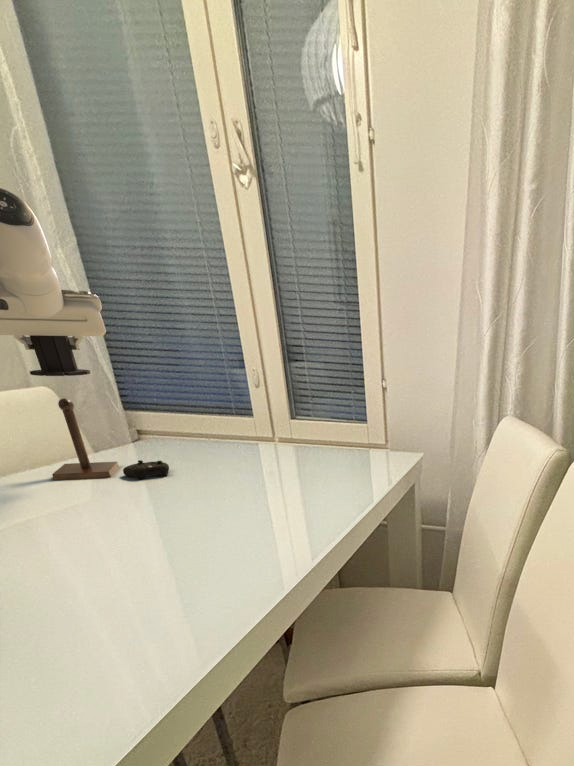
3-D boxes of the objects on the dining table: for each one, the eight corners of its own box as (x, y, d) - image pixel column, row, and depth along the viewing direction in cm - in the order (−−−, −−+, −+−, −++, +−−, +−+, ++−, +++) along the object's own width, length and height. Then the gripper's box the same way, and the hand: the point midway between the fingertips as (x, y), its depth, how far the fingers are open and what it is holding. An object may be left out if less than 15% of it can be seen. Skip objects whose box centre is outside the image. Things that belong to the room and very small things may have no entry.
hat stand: (54, 480, 122) (26, 401, 114) (66, 470, 131) (41, 395, 123) (110, 478, 126) (87, 401, 118) (119, 467, 135) (98, 395, 127)
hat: (25, 376, 108) (6, 323, 104) (40, 372, 117) (23, 323, 112) (83, 375, 112) (68, 325, 107) (94, 372, 120) (80, 324, 115)
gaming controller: (166, 466, 133) (167, 451, 128) (175, 485, 133) (176, 470, 128) (121, 471, 127) (121, 456, 123) (130, 491, 127) (130, 476, 122)
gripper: (94, 279, 106) (107, 335, 118) (-43, 271, 96) (-14, 333, 108) (103, 305, 105) (115, 359, 117) (-35, 300, 95) (-6, 360, 107)
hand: (52, 347), depth 112 cm, fingers closed on hat, 6 cm apart
